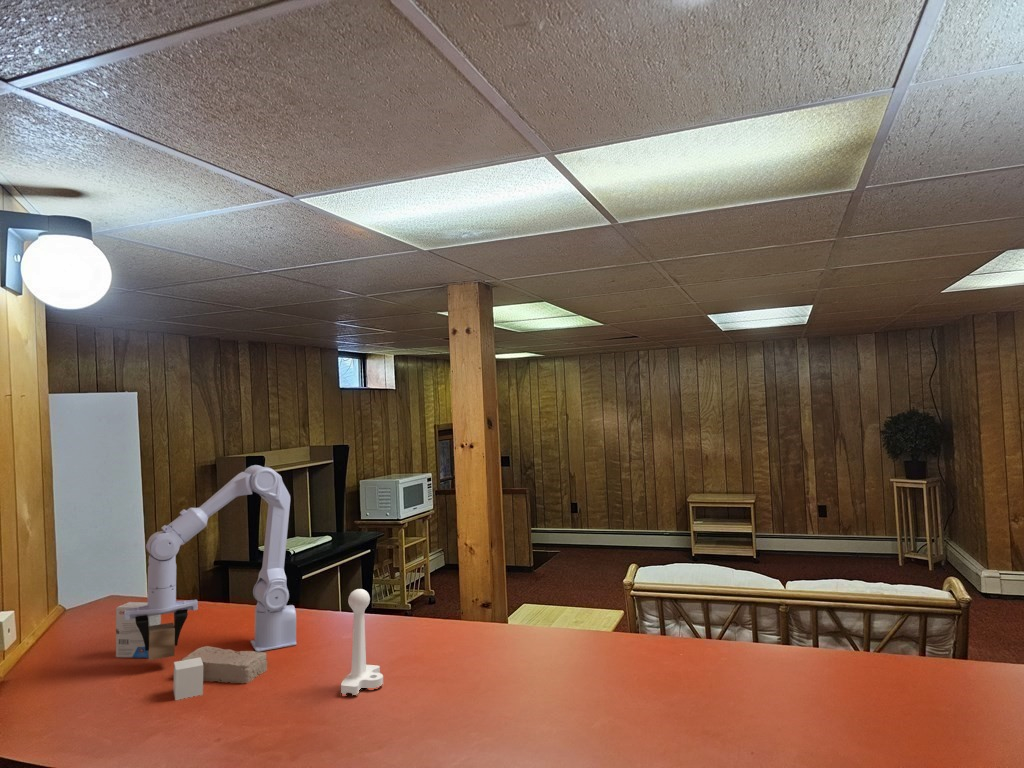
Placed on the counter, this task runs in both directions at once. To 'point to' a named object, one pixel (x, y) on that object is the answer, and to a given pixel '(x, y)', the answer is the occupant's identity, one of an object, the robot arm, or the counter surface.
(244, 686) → the counter surface
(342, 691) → the joystick
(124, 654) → the ink box
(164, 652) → the walnut block
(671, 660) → the counter surface
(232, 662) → the brick
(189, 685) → the grey block
